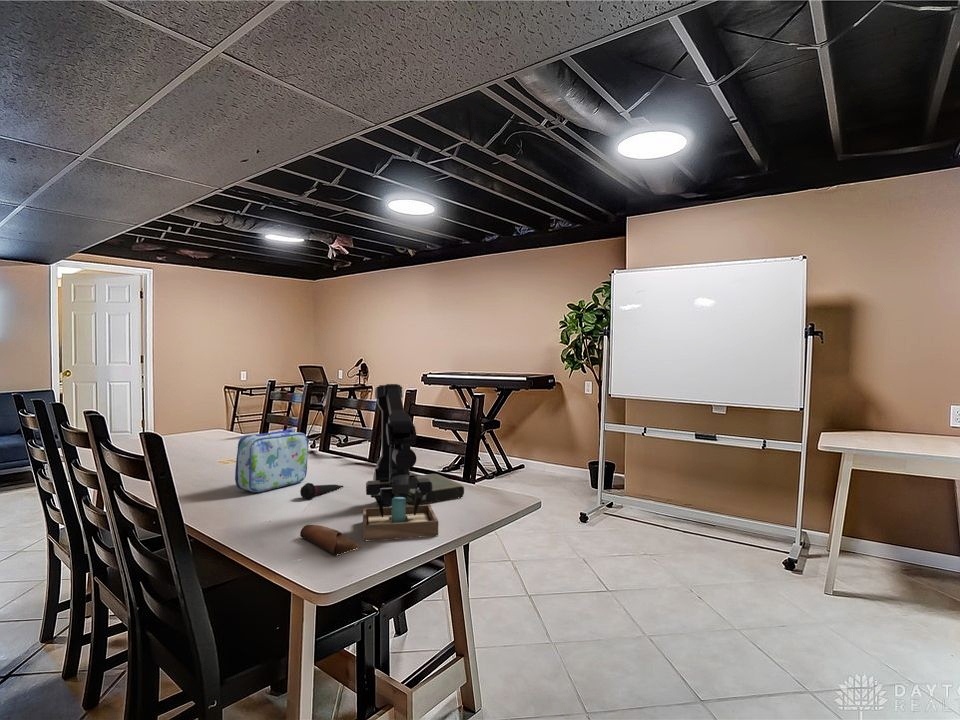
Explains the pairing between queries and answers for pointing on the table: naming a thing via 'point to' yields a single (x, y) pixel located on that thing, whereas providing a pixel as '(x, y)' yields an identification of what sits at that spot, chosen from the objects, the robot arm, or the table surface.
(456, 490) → the network switch
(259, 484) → the lunch box
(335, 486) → the microphone
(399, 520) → the peg
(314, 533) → the sunglasses case
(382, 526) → the open box
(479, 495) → the table surface
